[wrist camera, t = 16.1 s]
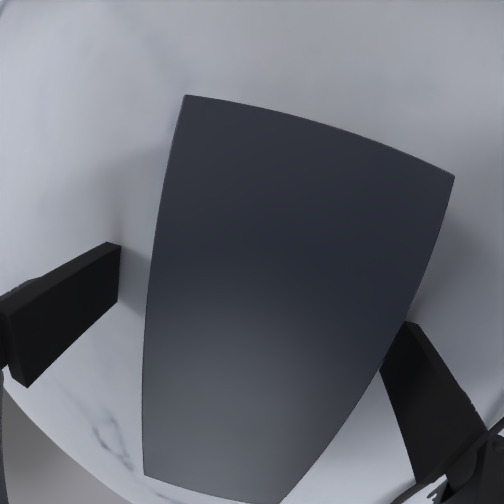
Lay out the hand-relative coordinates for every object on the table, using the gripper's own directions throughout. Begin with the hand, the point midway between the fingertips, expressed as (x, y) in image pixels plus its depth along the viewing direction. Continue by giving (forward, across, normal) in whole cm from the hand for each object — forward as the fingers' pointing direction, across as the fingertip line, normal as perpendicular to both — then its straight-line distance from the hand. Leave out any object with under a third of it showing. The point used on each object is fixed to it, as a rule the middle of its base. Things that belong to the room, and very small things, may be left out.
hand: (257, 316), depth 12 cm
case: (0, 0, 0) cm, 0 cm away
